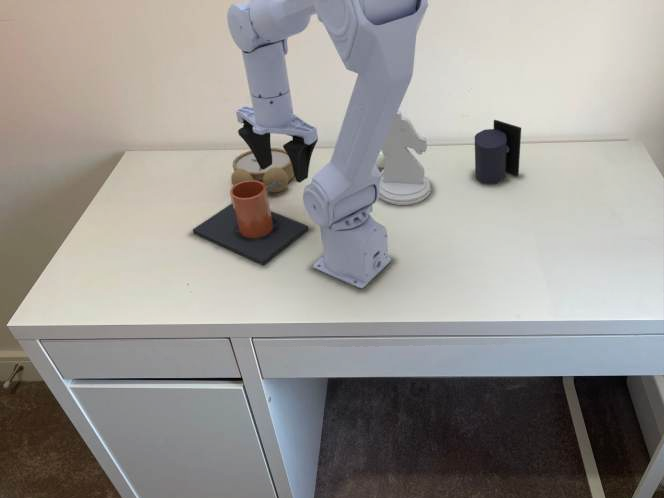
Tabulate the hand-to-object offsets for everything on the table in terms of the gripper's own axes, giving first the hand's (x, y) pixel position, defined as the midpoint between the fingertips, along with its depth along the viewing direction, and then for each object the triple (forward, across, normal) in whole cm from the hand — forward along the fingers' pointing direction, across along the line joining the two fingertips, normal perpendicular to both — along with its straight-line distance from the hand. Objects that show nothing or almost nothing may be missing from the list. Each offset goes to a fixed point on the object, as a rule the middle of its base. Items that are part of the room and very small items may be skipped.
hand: (284, 172), depth 92 cm
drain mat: (+9, -4, -6) cm, 12 cm away
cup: (+9, -3, -6) cm, 11 cm away
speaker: (+10, +23, +30) cm, 39 cm away
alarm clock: (+10, -13, +7) cm, 18 cm away
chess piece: (+10, +11, +18) cm, 23 cm away
